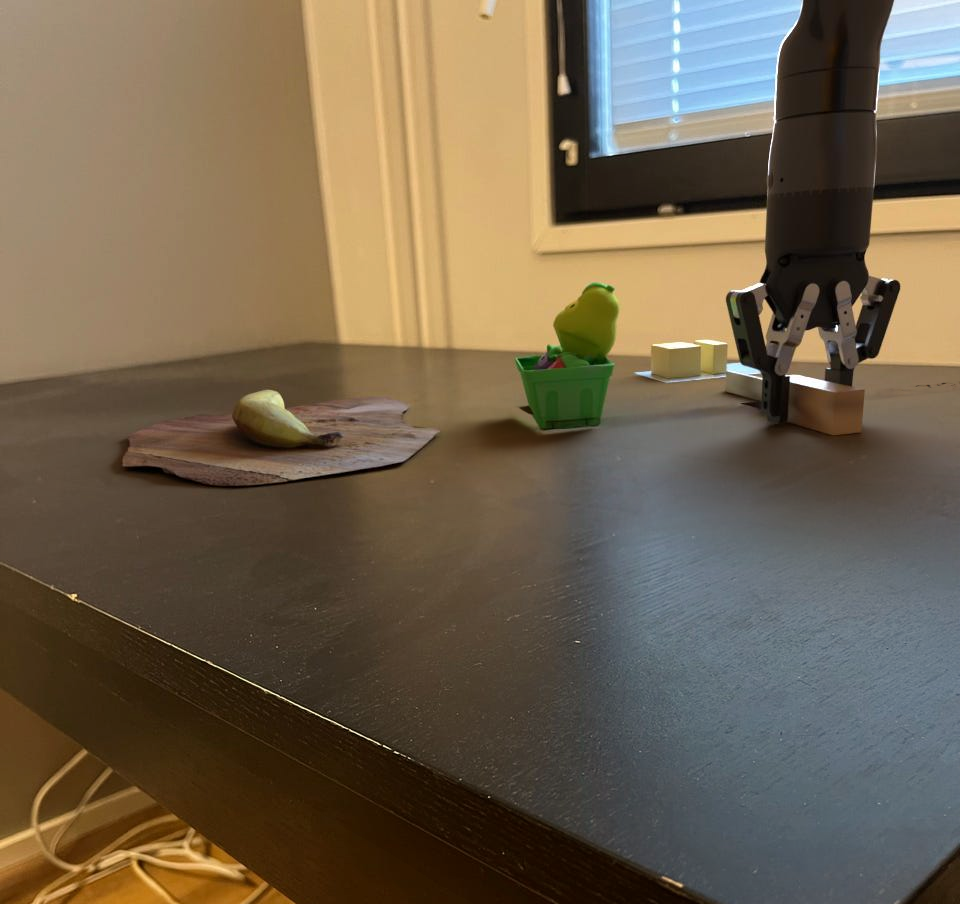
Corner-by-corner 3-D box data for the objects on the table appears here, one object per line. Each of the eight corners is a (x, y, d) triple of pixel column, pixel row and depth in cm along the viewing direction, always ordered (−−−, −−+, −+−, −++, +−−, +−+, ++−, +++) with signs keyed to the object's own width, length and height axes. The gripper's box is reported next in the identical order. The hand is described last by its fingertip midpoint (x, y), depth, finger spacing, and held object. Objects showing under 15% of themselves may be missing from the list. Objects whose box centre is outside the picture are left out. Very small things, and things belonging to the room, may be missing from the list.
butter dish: (742, 369, 110) (742, 362, 110) (783, 378, 102) (783, 370, 101) (633, 380, 107) (632, 372, 107) (665, 390, 99) (665, 382, 99)
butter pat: (706, 368, 107) (706, 339, 106) (726, 373, 102) (727, 343, 101) (693, 369, 107) (693, 340, 105) (713, 374, 102) (714, 344, 101)
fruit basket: (515, 412, 92) (510, 285, 88) (609, 405, 93) (608, 278, 88) (525, 433, 82) (519, 290, 78) (631, 426, 82) (631, 283, 78)
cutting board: (129, 427, 99) (122, 388, 97) (395, 399, 105) (392, 362, 104) (110, 504, 67) (98, 448, 66) (490, 457, 74) (487, 406, 72)
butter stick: (681, 370, 106) (681, 341, 105) (701, 375, 102) (701, 345, 101) (650, 373, 106) (650, 344, 104) (669, 378, 101) (669, 348, 100)
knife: (861, 432, 74) (865, 389, 73) (832, 435, 74) (835, 392, 72) (738, 397, 92) (739, 362, 91) (714, 400, 92) (715, 365, 91)
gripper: (755, 188, 68) (745, 435, 75) (938, 177, 71) (913, 417, 77) (708, 194, 75) (703, 420, 81) (876, 184, 78) (858, 404, 84)
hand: (805, 417), depth 79 cm, fingers open, 4 cm apart
